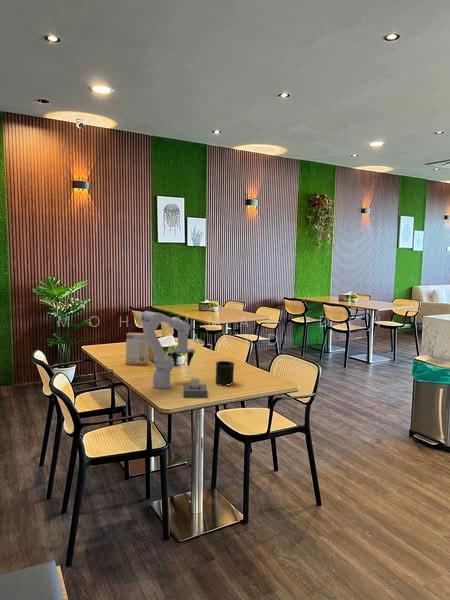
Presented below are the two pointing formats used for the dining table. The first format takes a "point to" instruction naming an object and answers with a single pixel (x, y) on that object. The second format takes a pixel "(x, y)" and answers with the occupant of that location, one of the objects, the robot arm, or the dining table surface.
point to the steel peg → (194, 383)
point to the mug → (224, 372)
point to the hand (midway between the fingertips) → (181, 365)
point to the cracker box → (137, 349)
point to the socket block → (195, 391)
